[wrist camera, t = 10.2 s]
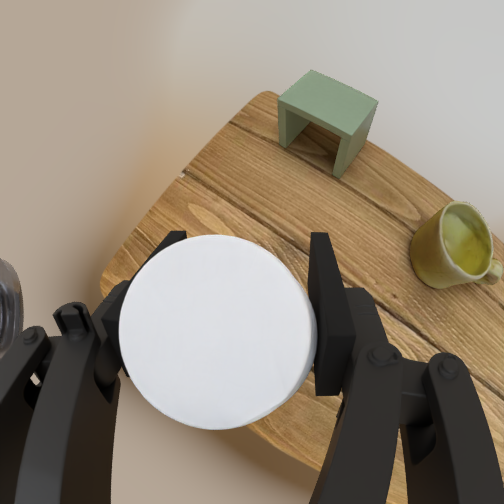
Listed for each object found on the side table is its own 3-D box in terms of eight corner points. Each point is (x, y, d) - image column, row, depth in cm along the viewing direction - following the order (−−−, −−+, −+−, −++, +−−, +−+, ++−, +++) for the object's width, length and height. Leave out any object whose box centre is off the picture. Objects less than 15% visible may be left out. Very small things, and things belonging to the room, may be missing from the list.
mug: (385, 258, 31) (446, 220, 22) (413, 215, 36) (463, 179, 27) (439, 329, 30) (502, 310, 21) (460, 279, 35) (511, 254, 26)
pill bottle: (250, 268, 17) (214, 171, 7) (324, 337, 15) (389, 323, 6) (180, 338, 16) (66, 321, 7) (251, 409, 14) (209, 492, 5)
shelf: (279, 144, 40) (277, 98, 31) (308, 114, 41) (311, 69, 33) (339, 179, 37) (351, 135, 28) (364, 144, 39) (378, 101, 30)
